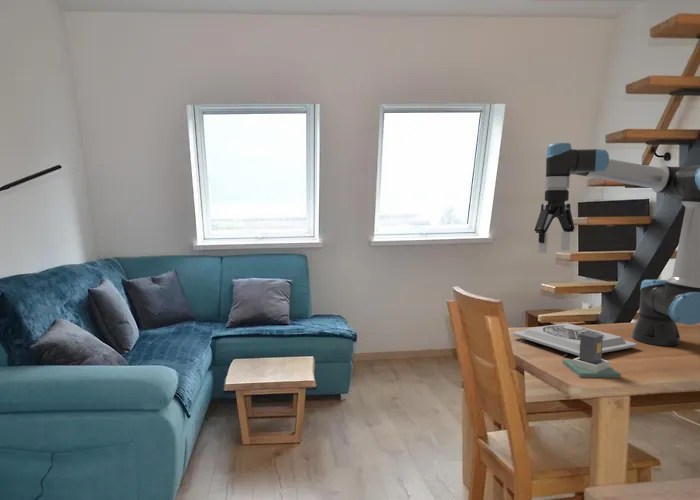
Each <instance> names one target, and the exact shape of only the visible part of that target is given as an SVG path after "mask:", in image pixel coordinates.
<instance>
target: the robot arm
mask: <svg viewBox="0 0 700 500" xmlns="http://www.w3.org/2000/svg"><path fill="white" fill-rule="evenodd" d="M546 149H547V150H546V156H545V161H546V162H545V185H544V186H545V187H544V188H545V189H546V190H544V201H545V202H547V203H541V206H540V207H541V208H540V212H539V214H538V215H539V216H538V218H537V221H536V224H535V226H534V231H535V234H536V233H537V234H538V251H537V252H538V253H541V254H542V253H543V254H547V253H548V238H549V236H548V234H549V233H547V231H548V230H549V228H550V226H551V224H552V222H553V220H554V219H555V218H557V220H558V222H559V224H560V227H561V229H562V231H561V235H560V236H561V238H560V239H561V240H560V241H561V243H560V250H561V251H570V240H571V233H573V232H574V230H575V224H574V220H573V215H572V211H571V203H566V202H567V201H568V202H569V197H570V196H569V193H570V192H569V190H568V189H570V176H571V175H576V176H582V177H587V178H593V179H598V180H603V181H609V182H617V183H621V184H627V185H631V186H632V185H633V186H636V187H642V188H643V187H644V188H650V189H652V191H653V192H655V193H660V194H665V195H669V196H673V197H677V198H680V199H681V204H682V205H683V207H685V209H684V215H683V221H682V223H681V224H682V226H681V230H680V236H679V241H678V245H677V251H676V256H675V259H674V260H675V261H674V265H673V272H672V275H671V276H670V278H668V279H644V280H642V281H641V284H640V288H639V291H640V295H639V310H638V318H637V319H638V320H637V322H636V323H635V326H634V328H633V331H632V335H631V337H632V339H633V340H635V341H637V342H641V343H644V344H648V345H654V346H663V347H673V346H678V345H680V344H681V335H680V331H679V329H678V325H677V323H678V324H682V325H687V326H691V325H692V326H694V325H698V324H699V323H700V164H695V165H683V166H668V165H661V166H659V167H657V166H651V165H645V164H640V163H634V162H628V161H623V160H616V159H611V158H610V155H609V152H608V151H607V150H606V149H602V148H601V149H599V148H594V149H591V148H589V149H588V148H587V149H574V148H572V144H571V143H569V142H556V143H555V142H554V143H550V144H548V146H547V148H546Z"/></svg>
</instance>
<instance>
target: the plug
mask: <svg viewBox="0 0 700 500" xmlns="http://www.w3.org/2000/svg"><path fill="white" fill-rule="evenodd" d="M580 338H581V339H580V356H579V357H580V358H579V360H580V361H584V362H587V363H591V364H594V365H597V364H599V363H601V359H603V357H602V355H603V353H602V341H603V335H599V334H595V333H590V332H587V333H584V334H581V336H580Z"/></svg>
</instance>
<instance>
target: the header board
mask: <svg viewBox="0 0 700 500" xmlns="http://www.w3.org/2000/svg"><path fill="white" fill-rule="evenodd" d="M579 358H580V356H578V357H576V358H573V359H563V360H562V365H564V364H565V365H566V366H565V365H564V366H565V367H566V368H567V369H569V368H570V369H571V370H572V371H571V370H570V369H569V370H570V371H571V372H573V373H574V374H575V373H576V374H577V375H578V377H579V378H609V379H610V378H611V379H612V378H615V379H617V378H618V379H619V378H620V379H621V375H622V374H621V372H619V371H617V370H616V369H615V368H613V367H611V366H610V360H606V359H603V358H601V363H599V364H597V365H594V364H591V363H587V362H584V361H580V360H579ZM576 374H575V375H576ZM577 375H576V376H577Z"/></svg>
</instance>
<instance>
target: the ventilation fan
mask: <svg viewBox="0 0 700 500" xmlns="http://www.w3.org/2000/svg"><path fill="white" fill-rule="evenodd" d="M587 332H590V333H595V334H599V335H603V341H602V354H604V353H608V352H615V351H621V350H625V349H630V348H635V347H638V343H636V342H632V341H629V340H625V339H624V338H623V337H622V336H619V335H616V334H612V333H608V332H603V331H600V330H597V329H596V330H595V329H592V328H589V327H584V326H581V325H577V324H572V323H567V322H566V323H565V322H564V323H557V324H551V325H543V326H536V327H528V328H526V329H525V330H518V331H512V336H515V337H518V338H521V339H524V340H528V341H530V342H534V343H537V344H540V345H543V346H546V347H550V348H551V349H552V348H553V349H555V350H559V351H561V352H565V353H566V352H568V353H569V354H572V355H574V356H578V357H580V339H581V334H584V333H587Z"/></svg>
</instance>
